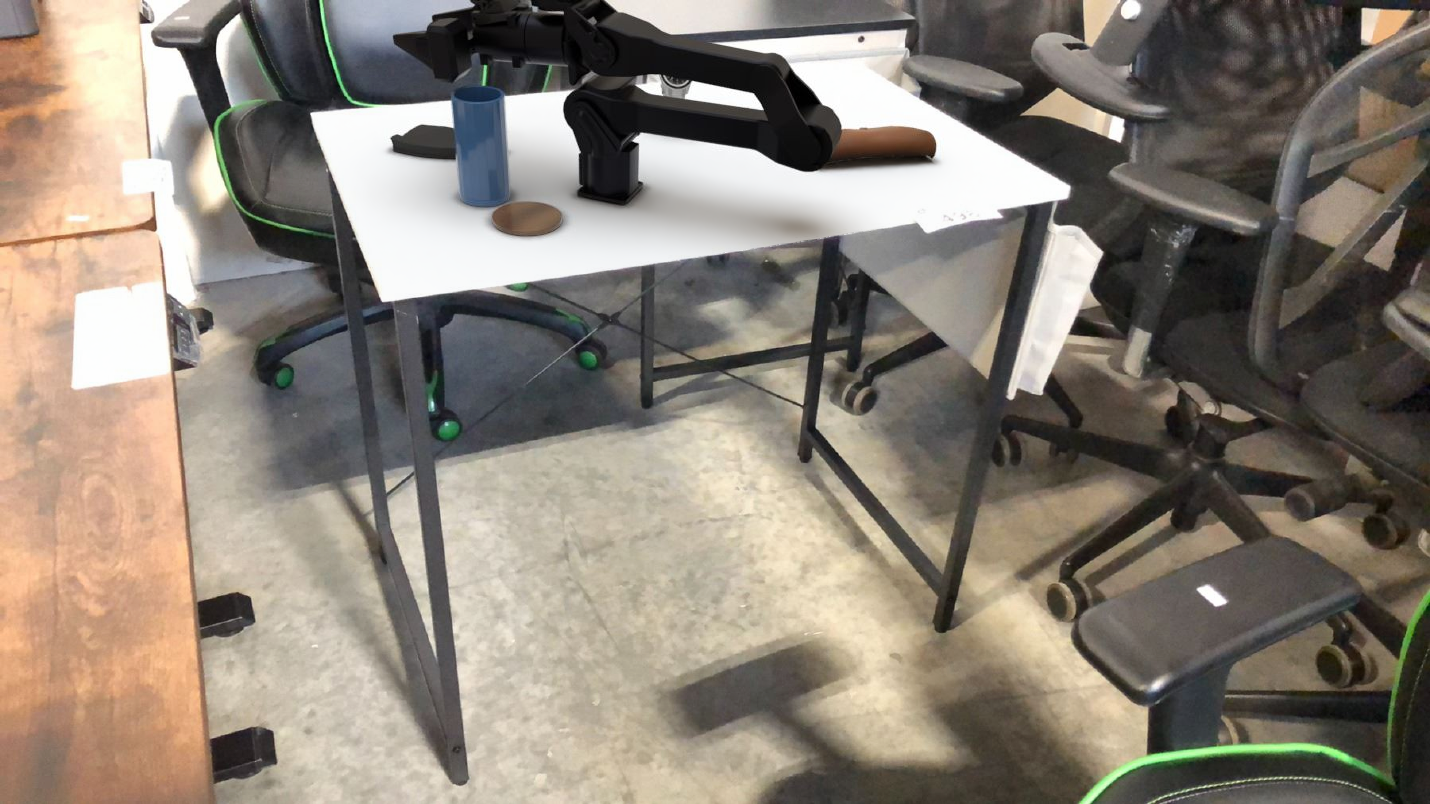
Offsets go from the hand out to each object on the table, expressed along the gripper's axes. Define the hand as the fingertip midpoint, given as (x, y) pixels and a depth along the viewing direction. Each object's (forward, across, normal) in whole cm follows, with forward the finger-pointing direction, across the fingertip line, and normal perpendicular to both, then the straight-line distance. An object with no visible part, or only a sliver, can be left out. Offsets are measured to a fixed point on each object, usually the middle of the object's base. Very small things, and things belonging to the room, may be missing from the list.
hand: (413, 29), depth 119 cm
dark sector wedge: (+1, -4, +16) cm, 17 cm away
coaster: (-18, +12, +18) cm, 28 cm away
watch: (-24, -25, +18) cm, 39 cm away
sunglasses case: (-52, -26, +20) cm, 61 cm away
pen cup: (-10, +8, +17) cm, 21 cm away
